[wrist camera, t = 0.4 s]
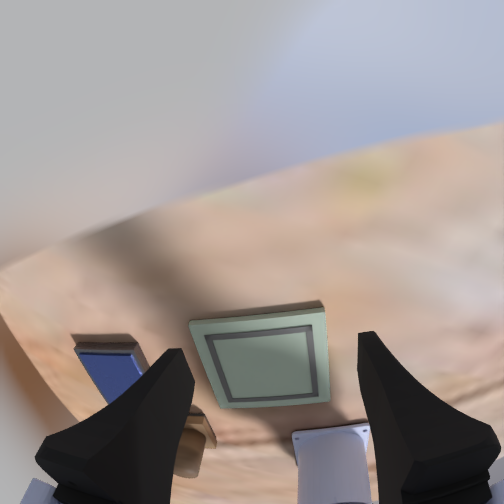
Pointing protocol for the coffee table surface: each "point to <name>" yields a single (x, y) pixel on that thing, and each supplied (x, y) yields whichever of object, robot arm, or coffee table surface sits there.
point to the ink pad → (112, 366)
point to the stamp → (193, 445)
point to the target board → (265, 358)
